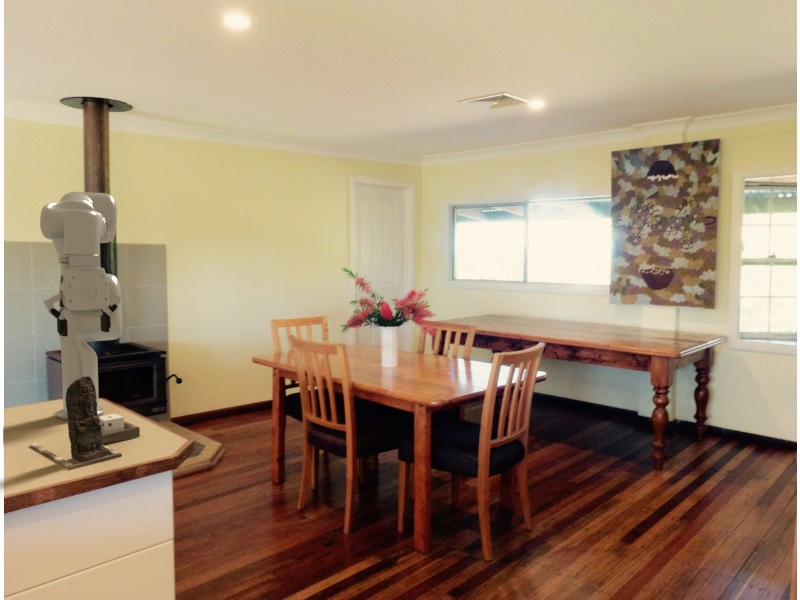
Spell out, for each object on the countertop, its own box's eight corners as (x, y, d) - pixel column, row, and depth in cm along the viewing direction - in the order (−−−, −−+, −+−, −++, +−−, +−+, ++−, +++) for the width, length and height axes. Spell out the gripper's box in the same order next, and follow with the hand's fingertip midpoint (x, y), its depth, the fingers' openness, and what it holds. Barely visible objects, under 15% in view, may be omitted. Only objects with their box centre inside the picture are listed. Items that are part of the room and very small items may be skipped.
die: (96, 435, 166) (96, 417, 166) (115, 431, 170) (114, 413, 169) (105, 439, 163) (104, 420, 162) (124, 435, 167) (123, 416, 166)
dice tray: (79, 436, 166) (79, 427, 166) (120, 428, 175) (120, 419, 174) (98, 446, 159) (98, 436, 159) (139, 436, 168) (139, 427, 167)
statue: (87, 463, 147) (84, 380, 145) (65, 458, 150) (62, 377, 148) (110, 454, 153) (108, 374, 152) (89, 450, 156) (86, 371, 154)
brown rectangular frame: (30, 445, 158) (30, 443, 158) (79, 435, 168) (79, 433, 168) (70, 469, 143) (70, 466, 143) (121, 456, 152) (121, 453, 152)
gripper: (49, 263, 138) (52, 339, 140) (126, 262, 151) (127, 331, 153) (36, 262, 143) (39, 335, 145) (111, 261, 156) (113, 328, 158)
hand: (84, 333), depth 149 cm, fingers open, 9 cm apart
